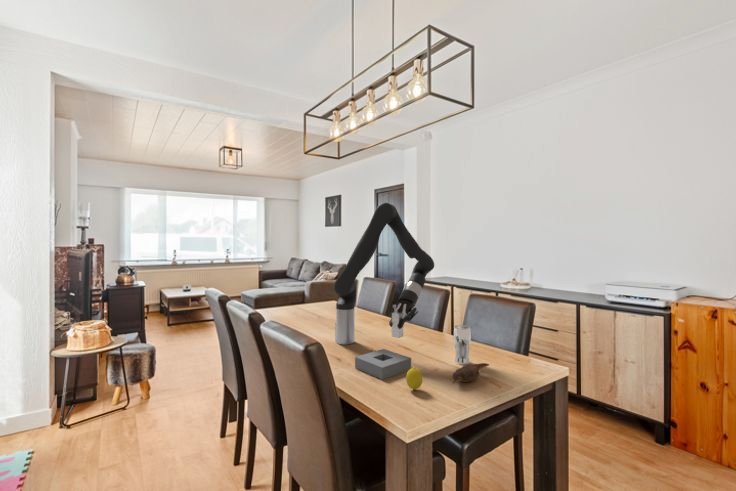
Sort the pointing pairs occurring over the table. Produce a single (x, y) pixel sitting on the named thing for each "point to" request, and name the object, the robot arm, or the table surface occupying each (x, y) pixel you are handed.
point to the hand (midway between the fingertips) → (394, 326)
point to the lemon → (414, 378)
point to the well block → (383, 363)
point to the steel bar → (395, 320)
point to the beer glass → (462, 344)
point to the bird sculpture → (468, 372)
